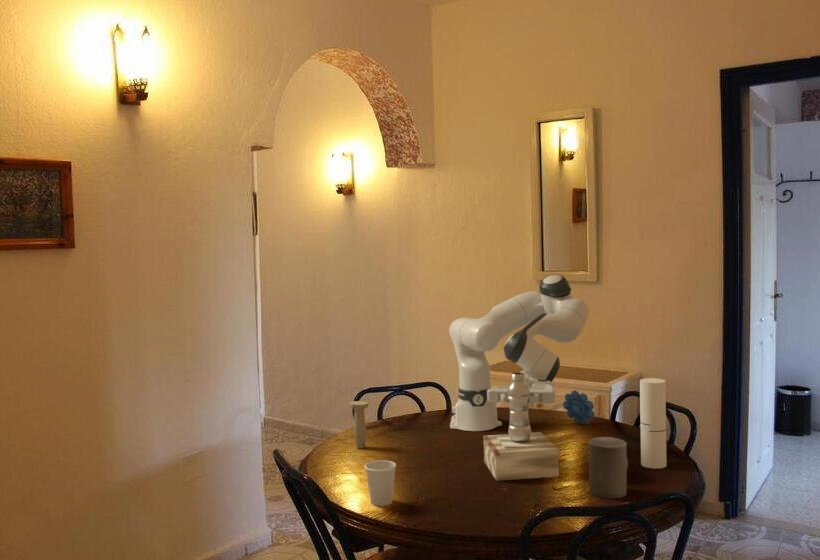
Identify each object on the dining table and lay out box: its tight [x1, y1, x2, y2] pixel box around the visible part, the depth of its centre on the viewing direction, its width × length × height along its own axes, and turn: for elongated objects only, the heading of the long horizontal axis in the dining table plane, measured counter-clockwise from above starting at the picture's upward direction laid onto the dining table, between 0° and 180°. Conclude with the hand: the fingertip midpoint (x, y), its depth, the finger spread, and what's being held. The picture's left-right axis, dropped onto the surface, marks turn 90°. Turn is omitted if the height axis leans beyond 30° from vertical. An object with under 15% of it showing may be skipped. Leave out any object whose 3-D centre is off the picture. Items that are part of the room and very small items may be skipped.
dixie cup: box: [363, 459, 397, 507], centre depth 199 cm, size 8×8×10 cm
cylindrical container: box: [639, 377, 667, 470], centre depth 221 cm, size 7×7×25 cm
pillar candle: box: [588, 436, 628, 500], centre depth 200 cm, size 10×10×15 cm
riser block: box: [482, 431, 560, 481], centre depth 222 cm, size 18×18×8 cm
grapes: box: [562, 390, 596, 425], centre depth 270 cm, size 12×7×12 cm, turn 58°
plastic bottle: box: [507, 371, 532, 441], centre depth 221 cm, size 6×7×20 cm
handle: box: [349, 400, 369, 449], centre depth 250 cm, size 5×6×15 cm
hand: (518, 400), depth 220 cm, fingers closed on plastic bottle, 6 cm apart
